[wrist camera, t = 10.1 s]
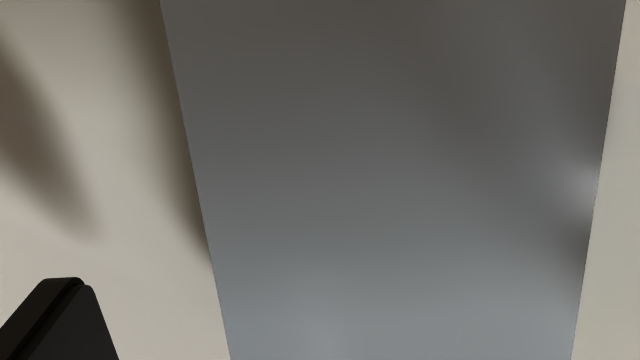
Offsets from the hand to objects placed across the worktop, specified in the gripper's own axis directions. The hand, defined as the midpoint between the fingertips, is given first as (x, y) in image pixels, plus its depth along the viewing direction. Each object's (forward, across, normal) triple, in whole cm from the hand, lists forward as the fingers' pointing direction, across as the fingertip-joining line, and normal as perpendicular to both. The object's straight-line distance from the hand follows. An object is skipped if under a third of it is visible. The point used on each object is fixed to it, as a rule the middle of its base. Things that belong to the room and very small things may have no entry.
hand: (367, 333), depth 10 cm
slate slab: (+3, -1, -5) cm, 6 cm away
